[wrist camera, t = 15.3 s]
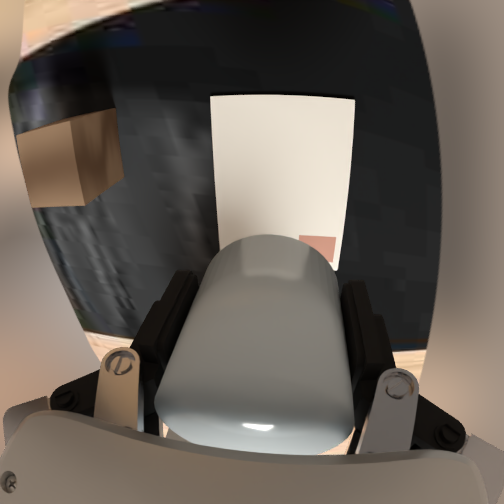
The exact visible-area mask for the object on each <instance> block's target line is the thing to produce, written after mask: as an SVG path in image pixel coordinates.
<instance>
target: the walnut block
mask: <svg viewBox="0 0 504 504" xmlns="http://www.w3.org/2000/svg"><path fill="white" fill-rule="evenodd" d="M16 137H17V143H18V149H19V154H20V159H21V164H22V169H23V174H24V178H25V183H26V187H27V191H28V195H29V199H30V202H31V206H32V208H34V207H56V206H85V205H86V204H88V203H89V202H90V201H92V200H93V199H94V198H96V197H97V196H98V195H100V194H101V193H102V192H104V191H105V190H107V189H108V188H109V187H111V186H112V185H114V184H115V183H116V182H118V181H119V180H121V179H122V178H124V172H123V165H122V159H121V151H120V143H119V135H118V126H117V117H116V108H112V109H107V110H102V111H97V112H92V113H87V114H83V115H78V116H74V117H70V118H66V119H62V120H59V121H56V122H53V123H50V124H47V125H44V126H41V127H38V128H35V129H33V130H30V131H27V132H25V133H22V134H19V135H17V136H16Z"/></svg>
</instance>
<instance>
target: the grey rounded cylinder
mask: <svg viewBox="0 0 504 504" xmlns="http://www.w3.org/2000/svg"><path fill="white" fill-rule="evenodd" d="M154 405H155V409H156V412H157V414H158V416H159V417H160V419H161V420H162V421H163V422H164V423H165V424H166V426H168V427H169V428H170V429H171V430H172V431H174V432H175V433H176V434H178V435H179V436H181V437H182V438H184V439H186V440H187V441H189V442H191V443H193V444H199V445H205V446H211V447H217V448H224V449H231V450H239V451H249V452H259V453H272V454H289V455H317V454H320V453H323V452H325V451H328V450H330V449H332V448H334V447H336V446H337V445H339V444H340V443H342V442H343V441H344V440H345V439H347V438H348V436H349V435H350V434H351V433H352V430H353V428H354V423H355V419H354V407H353V395H352V385H351V376H350V367H349V358H348V350H347V342H346V335H345V327H344V320H343V314H342V307H341V301H340V295H339V288H338V283H337V278H336V275H335V273H334V270H333V268H332V267H331V265H330V264H329V262H328V261H327V260H326V259H325V257H324V256H323V255H322V254H320V253H319V252H318V251H317V250H316V249H314V248H313V247H311V246H310V245H308V244H306V243H304V242H302V241H300V240H297V239H294V238H291V237H286V236H282V235H273V234H262V235H254V236H249V237H245V238H242V239H239V240H237V241H234V242H233V243H231V244H229V245H227V246H226V247H224V248H223V249H222V250H220V251H219V252H218V253H217V254H216V256H215V257H214V258H213V259H212V261H211V262H210V264H209V266H208V268H207V270H206V273H205V275H204V277H203V280H202V282H201V284H200V287H199V289H198V292H197V294H196V296H195V299H194V301H193V303H192V306H191V308H190V311H189V313H188V315H187V318H186V320H185V323H184V325H183V328H182V330H181V333H180V335H179V337H178V340H177V342H176V345H175V347H174V350H173V352H172V355H171V357H170V360H169V362H168V365H167V367H166V370H165V373H164V375H163V378H162V380H161V383H160V385H159V388H158V391H157V393H156V396H155V400H154Z"/></svg>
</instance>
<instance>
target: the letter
mask: <svg viewBox="0 0 504 504" xmlns="http://www.w3.org/2000/svg"><path fill="white" fill-rule="evenodd" d="M210 100H211V121H212V141H213V158H214V175H215V190H216V204H217V218H218V231H219V243H220V250H222V249H223V248H224V247H226V246H227V245H229V244H231V243H233V242H234V241H237V240H239V239H242V238H245V237H249V236H254V235H262V234H273V235H282V236H286V237H291V238H294V239H297V240H300V241H302V242H304V243H306V244H308V245H310V246H311V247H313V248H314V249H316V250H317V251H318V252H319V253H320V254H322V255H323V256H324V257H325V259H326V260H327V261H328V262H329V264H330V265H331V267H332V268H333V270H337V269H338V263H339V256H340V250H341V243H342V236H343V229H344V221H345V213H346V205H347V196H348V187H349V177H350V167H351V155H352V142H353V127H354V109H355V100H351V99H341V98H330V97H316V96H297V95H228V96H210Z"/></svg>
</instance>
